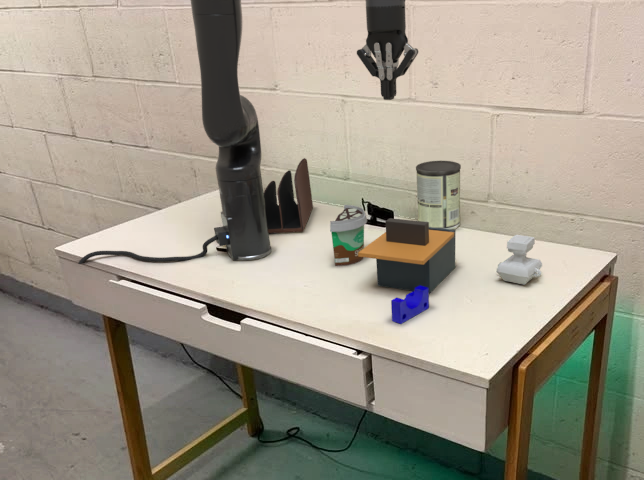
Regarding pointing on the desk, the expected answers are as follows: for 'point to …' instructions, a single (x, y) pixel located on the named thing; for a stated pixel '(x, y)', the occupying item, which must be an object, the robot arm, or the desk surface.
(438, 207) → the coffee can
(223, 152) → the robot arm
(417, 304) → the cable holder
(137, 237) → the desk surface
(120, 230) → the desk surface
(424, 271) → the bin
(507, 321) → the desk surface
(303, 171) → the letter holder
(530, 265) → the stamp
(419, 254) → the lid
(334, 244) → the food container
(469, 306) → the desk surface
